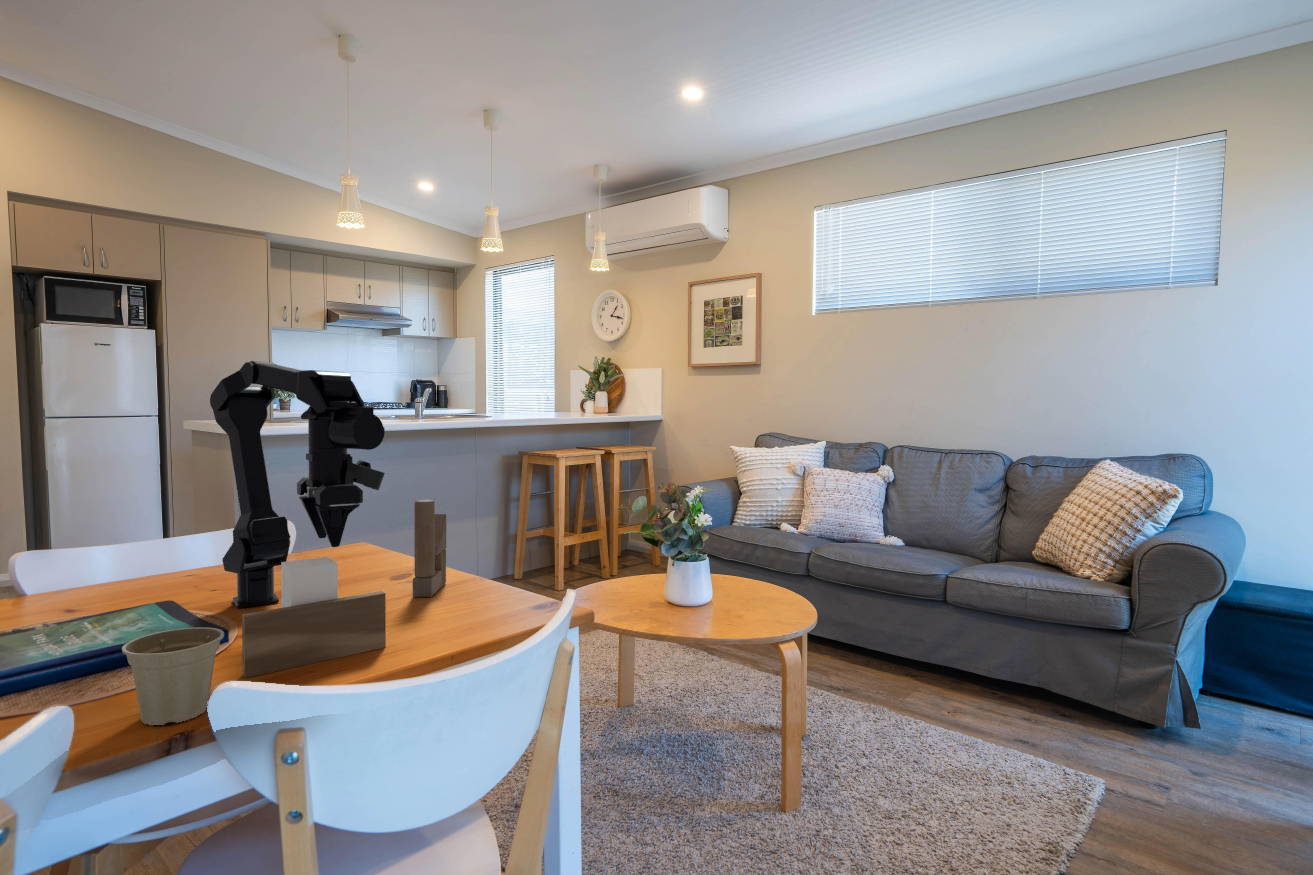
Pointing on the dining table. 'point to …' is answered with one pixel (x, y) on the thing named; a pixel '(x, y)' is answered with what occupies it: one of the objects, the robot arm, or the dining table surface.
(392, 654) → the dining table surface
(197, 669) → the flower pot
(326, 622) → the wall board
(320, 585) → the white notched pillar
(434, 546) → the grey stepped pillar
